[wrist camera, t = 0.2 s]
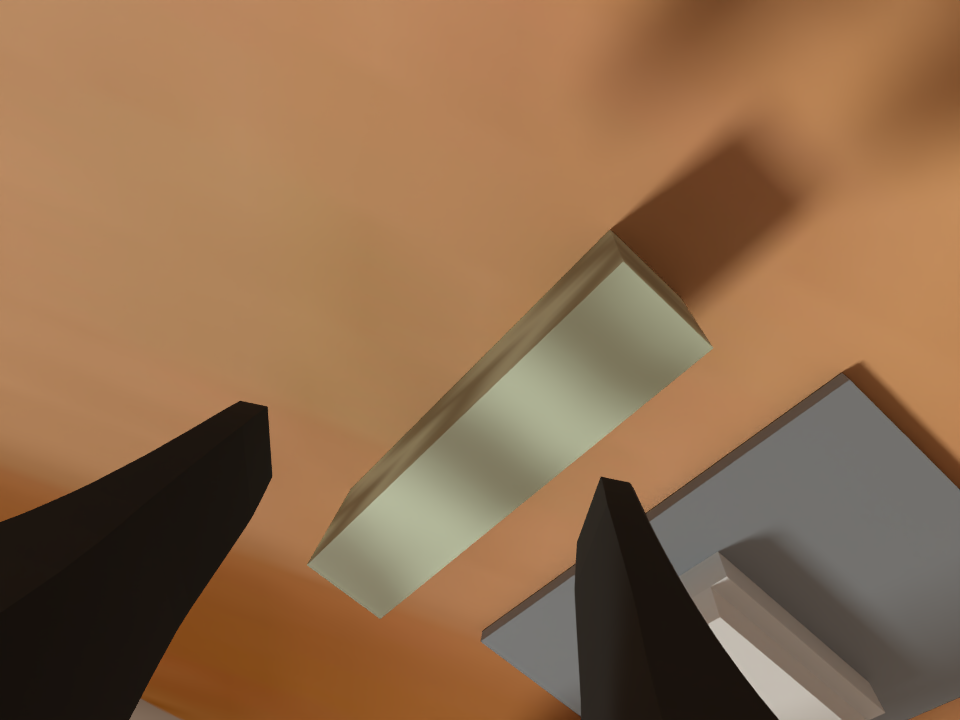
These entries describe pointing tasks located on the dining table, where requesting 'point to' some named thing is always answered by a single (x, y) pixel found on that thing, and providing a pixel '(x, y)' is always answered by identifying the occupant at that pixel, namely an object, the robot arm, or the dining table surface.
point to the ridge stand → (800, 569)
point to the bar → (511, 424)
